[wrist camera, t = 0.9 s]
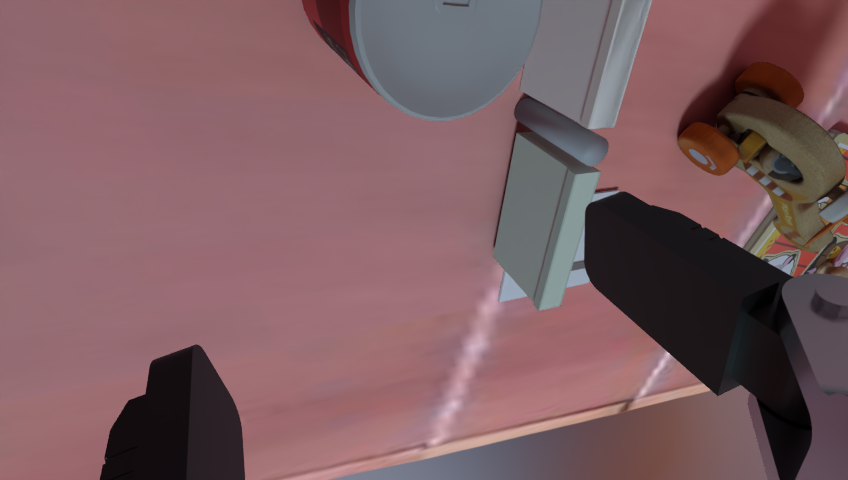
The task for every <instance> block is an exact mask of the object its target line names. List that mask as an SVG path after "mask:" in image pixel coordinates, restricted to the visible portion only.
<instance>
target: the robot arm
mask: <svg viewBox="0 0 848 480" xmlns="http://www.w3.org/2000/svg"><path fill="white" fill-rule="evenodd" d="M584 265H585V270H586V273H587V275H588V277H589V279H590V281H591V283H592V284H593V285H594V287H595V288H596V289H597V290H598V291H600V292H601V293H602V294H603V295H604V296H605V297H606V298H607V299H609V300H610V301H611V302H612V303H613V304H614V305H615V306H616V307H618V308H619V309H620V310H621V311H622V312H623V313H624V314H626V315H627V316H628V317H629V318H630V319H631V320H632V321H633V322H635V323H636V324H637V325H638V326H639V327H640V328H641V329H642V330H644V331H645V332H646V333H647V334H648V335H649V336H650V337H652V338H653V339H654V340H655V341H656V342H657V343H658V344H659V345H661V346H662V347H663V348H664V349H665V350H666V351H667V352H668V353H670V354H671V355H672V356H673V357H674V358H675V359H676V360H678V361H679V362H680V363H681V364H682V365H683V366H684V367H685V368H687V369H688V370H689V371H690V372H691V373H692V374H693V375H695V376H696V377H697V378H698V379H699V380H700V381H701V382H702V383H704V384H705V385H706V386H707V387H708V388H709V389H710V390H711V391H713V392H714V393H715V394H716V395H717V396H719V395H721V394H723V393H725V392H727V391H729V390H731V389H733V388H735V387H737V386H739V385H742V386H743V387H744V388H745V389H747V390H748V391H749V392H750V394H749V397H748V408H749V411H750V416H751V419H752V423H753V427H754V431H755V434H756V438H757V442H758V446H759V449H760V453H761V457H762V461H763V464H764V468H765V472H766V476H767V479H768V480H848V278H846V277H842V276H837V275H831V274H821V273H819V274H804V275H799V276H796V277H792V276H791V275H789V274H787V273H785V272H783V271H782V270H780V269H778V268H776V267H775V266H773V265H771V264H769V263H768V262H766V261H764V260H762V259H760V258H759V257H757V256H755V255H753V254H752V253H750V252H748V251H746V250H745V249H743V248H741V247H739V246H737V245H736V244H734V243H732V242H730V241H729V240H727V239H725V238H722V239H721V238H720V237H719V235H718V234H716V233H714V232H713V231H711V230H709V229H707V228H706V227H705V228H702V227H701V225H700V224H698V223H697V222H695V221H693V220H691V219H690V218H688V217H686V216H684V215H682V214H681V213H678V212H675V211H671V210H668V209H664V208H661V207H657V206H654V205H652V206H650V205H648V204H647V203H645V202H643V201H642V200H640V199H638V198H636V197H635V196H633V195H631V194H629V193H627V192H619V193H616V194H613V195H610V196H608V197H605V198H602V199H599V200H597V201H594V202H591V203H589V204H588V205H587V207H586V210H585V236H584ZM104 459H105V464H104V465H103V467H102V472H101V476H100V480H245V470H244V454H243V438H242V427H241V422H240V417H239V414H238V411H237V408H236V405H235V403H234V401H233V399H232V397H231V395H230V393H229V392H228V390H227V388H226V387H225V385H224V383H223V382H222V380H221V378H220V377H219V375H218V373H217V372H216V370H215V368H214V367H213V365H212V363H211V362H210V360H209V358H208V357H207V355H206V353H205V352H204V350H203V349H202V348H201V347H200V346H199V345H193V346H191V347H188V348H185V349H182V350H180V351H177V352H174V353H171V354H169V355H166V356H163V357H160V358H158V359H155V360H153V361H152V362H151V364H150V368H149V375H148V382H147V388H146V394H145V395H142V396H139V397H137V398H134V399H131V400H129V401H128V402H127V404H126V405H125V407H124V409H123V410H122V412H121V414H120V415H119V417H118V418H117V420H116V422H115V423H114V425H113V426H112V428H111V430H110V434H109V439H108V443H107V448H106V453H105V458H104Z"/></svg>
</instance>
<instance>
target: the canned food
mask: <svg viewBox="0 0 848 480" xmlns="http://www.w3.org/2000/svg"><path fill="white" fill-rule="evenodd" d="M302 3H303V7H304V10H305V12H306V14H307V16H308V19H309V21H310V23H311V25H312V26H313V28H314V29H315V30H316V32H317V33H318V35H319V36H320V37H321V38H322V39H323V40H324V41H325V42H326V43H327V44H328V45H329V46H330V47H331V48H332V49H333V50H334V51H335V52H336V53H337V54H338V55H339V56H340V57H341V58H342V59H343V60H344V61H345V62H346V63H347V64H348V65H349V66H350V67H351V68H352V69H353V70H354V71H355V72H356V73H357V74H358V75H359V76H360V77H361V78H362V79H363V80H364V81H365V82H366V83H367V84H368V85H369V86H370V87H371V88H373V89H374V90H375V91H376V92H377V93H378V94H379V95H380V96H382V97H383V98H384V99H385V100H386V101H387V102H388V103H390V104H391V105H393V106H394V107H396V108H398V109H399V110H401V111H403V112H405V113H406V114H408V115H411V116H414V117H417V118H420V119H423V120H431V121H447V120H455V119H459V118H462V117H465V116H467V115H470V114H473V113H475V112H476V111H478V110H480V109H482V108H483V107H485V106H487V105H488V104H490V103H491V102H492V101H493V100H494V99H496V98H497V97H498V96H499V95H500V94H502V93H503V91H504V90H505V89H506V88H507V87H508V86H509V85H510V83H511V82H512V81H513V80H514V79H515V77H516V76H517V74H518V73H519V71H520V70H521V68H522V66H523V65H524V63H525V62H526V59H527V57H528V55H529V53H530V51H531V48H532V46H533V44H534V41H535V38H536V34H537V31H538V28H539V24H540V19H541V13H542V6H543V0H302Z"/></svg>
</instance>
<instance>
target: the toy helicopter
mask: <svg viewBox="0 0 848 480" xmlns="http://www.w3.org/2000/svg"><path fill="white" fill-rule="evenodd" d="M735 89H736V92H737V94H738V95H737V96H736V97H735V98H734V100H733V101H731V102H730V103H729V104H728V105H727V106H726V107H725V108H724V109H723V110H722V111H721V112H720V113H719V114H718V115H717V116H716V123H717V129H716V128H714V127H712V126H710V125H708V124H705V123H701V122H695V123H693V124H691V125H690V126H689V127H687V128H686V129H685V130H684V131H683V132H682V133H681V134H680V136H679V137H678V145H679V147H680V149H681V150H682V152H683V153H684V154H685V155H686V156H687V157H688V158H689V159H690V160H691V161H692V162H693V163H694V164H696V165H697V166H698V167H700V168H701V169H703V170H704V171H706V172H708V173H711V174H713V175H717V176H720V175H724V174H726V173H727V172H728V171H729V170H730V169H732V168H733V167H734V166H736V167H737V168H739V169H741V170H743V171H744V172H746V173H747V174H748V175H749V176H751V177H752V178H753V179H754V180H755V181H756V182H758V183H759V184H760V185H761V186H762V187H763V188H764V189H765V190H766V191H767V192H768V194H769V196H770V198H771V201H772V203H773V206H774V208H775V211H776V213H777V216H776V217H775V218H774V219H773V224H774V226H775V228H776V229H777V230H778V232H779V233H780V234H781V235H782V236H783V237H784V238H786V239H787V240H788V241H789V242H791V243H792V244H794V245H795V246H797V247H798V248H800V249H802V250H804V251H807V252H811V253H815V252H818V251H819V250H821V249H822V248H824V247H825V246H826V245H828V244H829V243H830V242H832V241H833V238H834V237H833V234H832V232H831V230H830V229H831V228H833V227H834V226H835V225H837V224H838V223H839V222H841V221H843V222H844V223H846V224H848V189H847V190H845V191H844V190H843V189H841V188H840V187H839V186H840V185H841V184H842V183H843V181H844V179H845V176H846V163H845V160H844V157H843V155H842V153H841V151H840V149H839V147H838V145H837V144H836V142H835V141H834V140H833V138H832V137H831V136H830V135H829V134H828V133H827V132H826V131H825V130H824V129H823V128H822V127H821V126H820V125H819V124H818V123H816V122H815V121H814V120H812V119H811V118H810V117H808V116H807V115H805V114H804V113H802V112H800V111H799V110H797V109H795V108H796V107H797V106H798V105H799V104H800V103H801V102H802V100H803V98H804V92H803V89H802V87H801V85H800V83H799V82H798V81H797V79H796V78H795V77H793V76H792V75H791V74H790V73H789V72H787V71H786V70H784V69H782V68H780V67H778V66H776V65H773V64H770V63H766V62H758V63H754V64H752V65H750V66H749V67H748V68H747V69H746V70H745V71H744V72H743V73H742V74H741V75H740V76H739V77H738V78H737V79H736V81H735ZM825 197H828V198H830V199H831V200H832V201H831V202H830V203H829V204H827V205H826V206H825V207H824V208H822V210H821V211H819V204H818V201H819V200H821V199H823V198H825ZM820 216H821V217H822V218H824V219H825V220H826V221H828V222H830V223H829V224H827V225H826V224H825V223H824V222H823V221H822V220H821V217H820Z"/></svg>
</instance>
